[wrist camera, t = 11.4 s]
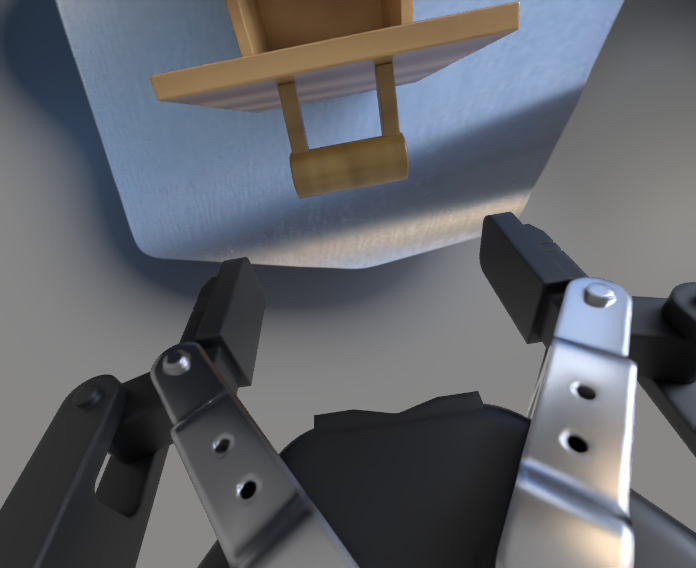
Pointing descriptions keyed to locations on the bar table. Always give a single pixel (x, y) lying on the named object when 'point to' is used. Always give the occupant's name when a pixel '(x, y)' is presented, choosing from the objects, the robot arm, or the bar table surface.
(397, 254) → the bar table surface
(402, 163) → the lid
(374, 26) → the chest
